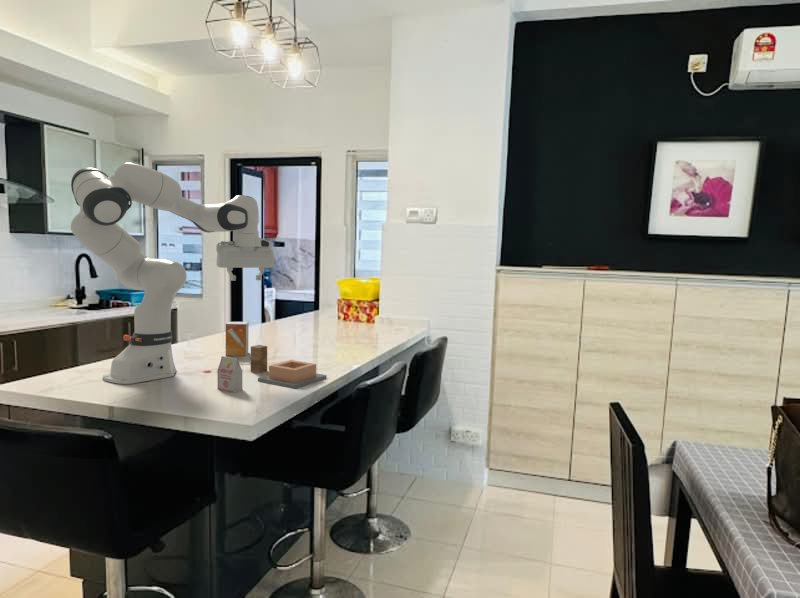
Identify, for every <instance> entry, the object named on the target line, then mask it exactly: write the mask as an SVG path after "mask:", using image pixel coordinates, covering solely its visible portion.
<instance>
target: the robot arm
mask: <svg viewBox="0 0 800 598" xmlns="http://www.w3.org/2000/svg"><path fill="white" fill-rule="evenodd" d="M70 183H71V184H70V186H71V192H72V195H73V196H74V197H73V198H74V200H75V203H76V205H77V206H78V207H79V208H80V210H79V212H78V213H77V214H76V215H75V216H74V217H73V218H72V221H70V222H71V223H70V230H71V232H72V234H73V235H74V236H75V238H77V240H78V241H79V242H80V243H81V244H82V245H83V246H84V247H86V248H87V249H88V250H89V251H90V252H92V253H93V254H94V255H96V256H97V257H98V258H100V259H101V260H102V261H104V262H105V263H106V264H108V265H109V266H110V267H111V268H112V269H113V270H115V272H116V276H117V280H118V282H119V283H120V284H121V285H123V286H124V287H126V288H129V289H131V290H134V291H144V295H143V298H142V301H140V304H138V305H136V307H135V308H134V312H133V314H134V315H133V316H134V318H133V319H134V332H133V333H132V335H130V334H124V335H123V336H122V338H123V341H126V342H129V345H128V346H126V347H125V349H123V350H122V351H121V352H120V353H118V355H116V356H115V357H114V358H113V359H112V361H111V366H110V373H106V374H104V375H102V380H104V381H105V382H110V383H114V384H120V385H121V384H122V385H123V384H124V385H131V384H136V383H144V382H147V381H153V380H155V381H156V380H159V379H165V378H171V377H174V376H175V373H177V369H176V365H175V361H174V357H173V349H172V345H173V344H172V343H173V331H172V329H171V328H172V327H171V323H172V321H171V319H172V317H171V315H172V307H173V301H174V300H175V297H176V295H177V294H178V292H179V291H180V290H181V289H182V288H183V287H184V286H185V284H186V281H187V275H188V274H187V271H186V268H185V267H184V265H183V264H182V263H180V262H177V261H175V260H172V259H168V258H153V257H149V256H146V255H145V254H143V253H142V251H141V249H142V248H141V247H142V246H141V244H140V242H139V241H138V240H137V239H136V238H134V237H133V236H132V235H131V234H130V233H129V232H128V231H126V230H125V229H124V228H123V227H121V226H120V225H119V224H117V223H118V222H120V221H121V220H122V219H123V218H124V216H125V215H126V213H127V211H128V210H129V209H130V208H132V205H133V202H136V203H139V204H142V205H144V206H147V207H150V208H153V209H156V210H160V211H164V212H170V213H172V214H174V215H176V216H179V217H181V218H183V219H186V220H187V221H189V222H191V223H193V225H195V226H196V227H197V228H198V229H199V230H200V231H202V232H204V233H207V234H209V233H215V232H216V233H217V232H219V233H221V232H223V233H224V232H225V233H226V232H232V241H231V240H230V241H229V240H227V241H225V240H224V241H223V240H222V241H220V242H218V243H217V244H216V253H217V255H216V266H217V267H218V268H225V269H226V272H227V273H228V275H229V279H230V280H229V281H232V282H233V281H237V275H235V274H233V272H232V271H233V270H234V268H235V269H236V268H241V269H242V268H245V269H248V268H254V269H257V268H258V271H259V272H258V274H256V275H255V280H256V281H262V280H263V279H262V276H263V274H264V272H265V269H268V268H270V269H272V268H273V267H274V266H275V254H274V251H273V249H272V247H273V245H272V244H273V243H272V241H270V240H267V239H265V238H262V237H260V236H259V230H258V229H259V228H258V225H259V221H260V216H259V215H260V214H259V213H260V212H259V206H258V202H257V200H256V199H255V198H254V197H253V196H248V195H243V194H238V195H235V196H234V197H233V198H232V199H229V200H228V201H224V202H222V203H196V202H194V201H193V200H190V199H188V198H186V197H184V196H182V188H181V185H180V182H179V181H177V180H176V179H174V178H172V177H171V176H170V175H168V174H166V173H163V172H161V171H158V170H156V169H154V168H151V167H149V166H146V165H141V164H138V163H133V162H124V163H120V164H119V166H118V167H117V168H116V169H115V171H114V173H113V174H112V175H110V176H108V175H107V174H106V173H105V172H104V171H102V170H100V169H97V168H94V167H83V168H81V169H78V170H77V171H75V173H74V174H73V176H72V177H71V181H70Z"/></svg>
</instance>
